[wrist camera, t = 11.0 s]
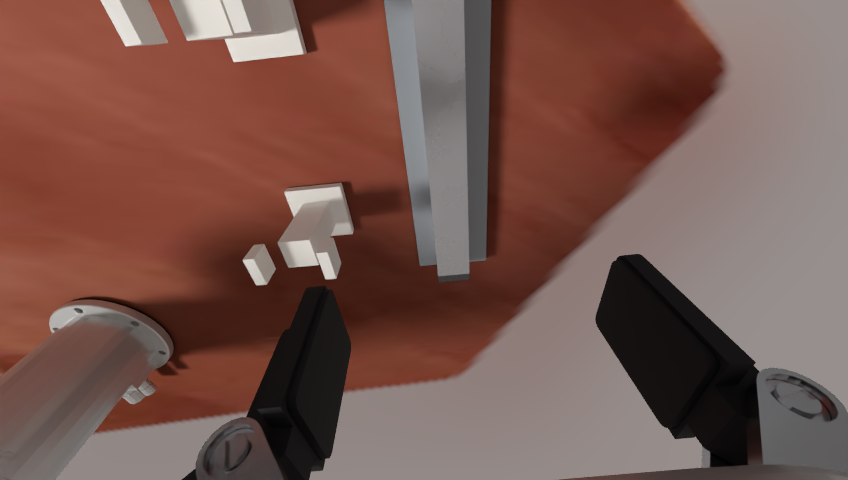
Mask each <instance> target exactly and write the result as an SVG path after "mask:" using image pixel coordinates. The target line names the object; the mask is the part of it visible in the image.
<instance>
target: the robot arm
mask: <svg viewBox="0 0 848 480" xmlns="http://www.w3.org/2000/svg"><path fill="white" fill-rule="evenodd" d="M596 324H597V327H598V328H599V330H600V332H601V333H602V334H603V336H604V338H605V339H606V341H607V342H608V344H609V345H610V347H611V348H612V350H613V352H614V353H615V355H616V356H617V358H618V359H619V361H620V362H621V364H622V365H623V367H624V369H625V370H626V372H627V373H628V375H629V376H630V378H631V379H632V381H633V382H634V384H635V386H636V387H637V389H638V390H639V392H640V393H641V395H642V396H643V398H644V399H645V401H646V403H647V404H648V405H649V407H650V409H651V410H652V412H653V413H654V415H655V416H656V418H657V419H658V421H659V422H660V424H661V425H662V426H664V427H666V428H668V429H669V430H670V432H671V433H672V435H673V436H674V438H675V439H681V438H692V437H695V436H696V437H697V439H698V440H699V442H700V443H701V444H702V446H703V447H702V465H701V468H694V469H681V470H669V471H656V472H645V473H633V474H620V475H608V476H597V477H596V476H595V477H584V478H573V479H562V480H848V413H847V411H846V409H845V407H844V405H843V404H842V403H841V402H840V401H839V400H838V399H837V398H836V397H835V395H833V394H832V393H831V392H829V391H828V390H827V389H826V388H824V387H823V386H821V385H820V384H818V383H816V382H815V381H813V380H811V379H809V378H807V377H805V376H803V375H800V374H798V373H796V372H792V371H788V370H785V369H778V368H768V369H763V370H762V371H761V372H759V371H758V370H757V369H756V368H755V367H754V366H753V365H754V364H755V361H754V360H752V359H751V358H750V357H749V356H748V355H747V354H746V353H745V352H744V351H743V350H742V349H741V348H740V347H739V346H738V345H737V344H735V343H734V342H733V341H732V340H731V339H730V338H729V337H728V336H727V335H726V334H725V333H724V332H723V331H722V330H721V329H719V327H718V326H716V325H715V324H714V323H713V322H712V321H711V320H710V319H709V318H708V317H707V316H706V315H705V314H704V313H703V312H702V311H700V310H699V309H698V308H697V307H696V306H695V305H694V304H693V303H692V302H691V301H690V300H689V299H688V298H687V297H686V296H685V295H684V294H682V293H681V292H680V291H679V290H678V289H677V288H676V287H675V286H674V285H673V284H672V283H671V282H670V281H669V280H667V278H665V277H664V276H663V275H662V274H661V273H660V272H659V271H658V270H657V269H656V268H655V267H654V266H653V265H652V264H650V262H648V261H647V260H646V259H645V258H644V257H643V256H642V255H640V254H634V255H624V256H619V257H618V258H617V260H616V261H614V262H613V263H612V265H611V268H610V271H609V275H608V278H607V281H606V284H605V288H604V291H603V294H602V297H601V301H600V304H599V308H598V311H597V314H596ZM49 325H50V329H51V331H52V333H53V334H51V335H50V336H49V337H48V338H47V339H45V340H44V341H43V342H42V343H41V344H39V345H38V346H37V347H36V348H35V349H33V350H32V351H31V352H30V353H29V354H27V355H26V356H25V357H24V358H23V359H21V360H20V361H19V362H18V363H17V364H15V365H14V366H13V367H12V368H11V369H9V370H8V371H7V372H6V373H5V374H3V375H2V376H1V377H0V480H55V479H56V478H57V477H58V476H59V475H60V473H61V472H62V471H63V470H64V468H65V467H66V466H67V465H68V463H69V462H70V461H71V460H72V458H73V457H74V456H75V455H76V453H77V452H78V451H79V450H80V448H81V447H82V446H83V445H84V444H85V442H86V441H87V440H88V439H89V437H90V436H91V435H92V434H93V432H94V431H95V430H96V429H97V427H98V426H99V425H100V424H101V422H102V421H103V420H104V419H105V418H106V416H107V415H108V414H109V413H110V411H111V410H112V409H113V408H114V406H115V405H116V404H117V403H118V401H119V400H120V399H121V398H122V397H123V398H124V399H125V400H127V401H128V402H129V403H130V404H135V403H138V402H139V401H141V400H142V399H143V398H144V397H145V395H146V396H148V395H151V394H152V393H154V392H155V391H156V389H157V387H156V385H155V384H153V383H152V382H151V381H149V380H148V375H149V374H150V373H151V372H152V370H154V369H157V368H160V367H161V366H163V365H164V364H165V363H166V362H167V361H168V360H169V358H170V357H171V356H172V354H173V350H174V346H173V342H172V340H171V338H170V336H169V334H168V333H167V332H166V331H165V330H164V329H163V328H162V327H161V326H160V325H159V324H158V323H156V322H155V321H154V320H152V319H151V318H149V317H147V316H146V315H144V314H142V313H140V312H138V311H136V310H133V309H131V308H128V307H126V306H123V305H119V304H116V303H112V302H107V301H102V300H90V299H89V300H76V301H72V302H68V303H66V304H64V305H62V306H61V307H60V308H59V309H57V310H56V311H55V312H53V314H52V315H51V317H50V320H49ZM350 352H351V342H350V339H349V336H348V333H347V330H346V328H345V325H344V322H343V319H342V316H341V313H340V311H339V308H338V305H337V302H336V299H335V297H334V294H333V291H332V290H327V288H326V287H325V286H319V287H309V288H307V289H306V290H305V293H304V295H303V297H302V300H301V302H300V305H299V307H298V310H297V312H296V315H295V317H294V319H293V322H292V324H291V327H290V329H287V330H285V331H284V332H283V333H282V335H281V337H280V339H279V342H278V344H277V346H276V349H275V351H274V353H273V356H272V358H271V360H270V363H269V365H268V367H267V370H266V372H265V374H264V377H263V379H262V381H261V384H260V386H259V388H258V391H257V393H256V395H255V398H254V400H253V402H252V405H251V407H250V409H249V412H248V414H247V416H246V417H241V418H237V419H234V420H231V421H230V422H228V423H226V424H224V425H222V426H221V427H220V428H219V429H218V430H216V431H215V432H214V433H213V434H212V435H211V436H210V437H209V439H208V440H207V441H206V442H205V443H204V445H203V447H202V449H201V450H200V452H199V454H198V458H197V461H196V469H194V470H193V471H192V472H191V473H189V474H188V475H187V476H186V477H185V478H183V479H182V480H309V478H310V473H311V471H321V470H323V467H324V462H325V459H326V458H330V456H331V453H332V449H333V444H334V439H335V433H336V428H337V422H338V417H339V412H340V406H341V400H342V395H343V390H344V385H345V379H346V374H347V369H348V363H349V358H350Z"/></svg>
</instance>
